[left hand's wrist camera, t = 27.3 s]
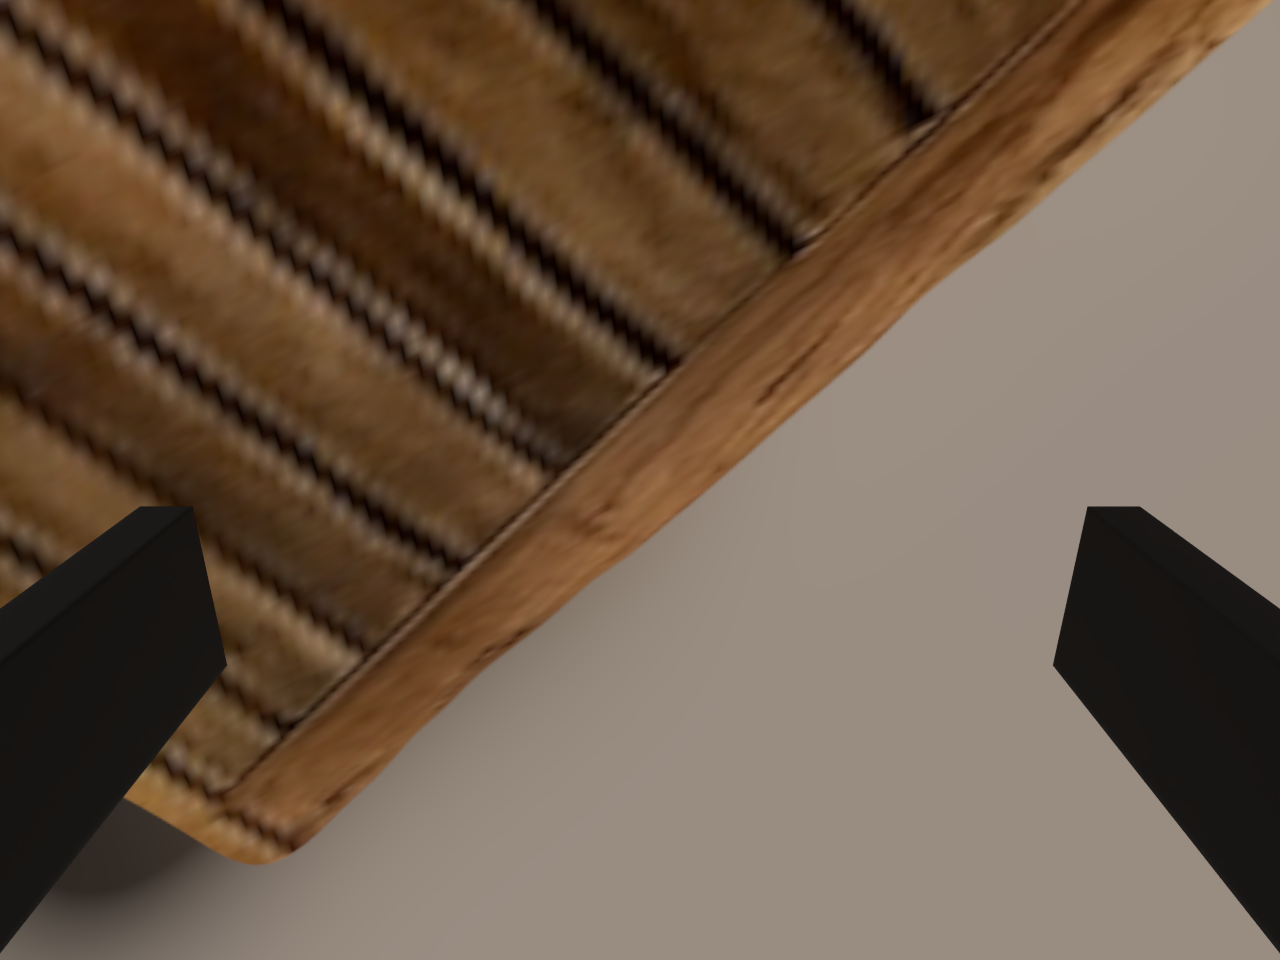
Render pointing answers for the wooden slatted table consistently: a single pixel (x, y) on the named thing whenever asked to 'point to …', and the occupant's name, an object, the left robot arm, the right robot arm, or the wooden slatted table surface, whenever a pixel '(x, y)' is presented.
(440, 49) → the wooden slatted table surface
